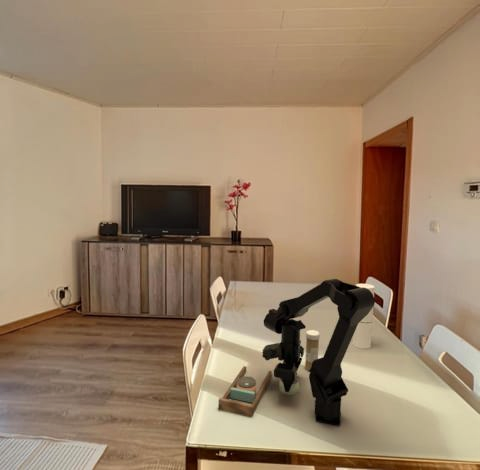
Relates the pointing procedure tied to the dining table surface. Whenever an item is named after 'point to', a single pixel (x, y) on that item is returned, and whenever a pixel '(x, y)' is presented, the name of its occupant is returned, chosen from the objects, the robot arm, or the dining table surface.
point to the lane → (239, 406)
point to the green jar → (293, 388)
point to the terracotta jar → (247, 383)
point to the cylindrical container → (364, 326)
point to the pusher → (242, 394)
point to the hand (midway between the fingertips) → (288, 386)
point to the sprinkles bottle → (311, 348)
